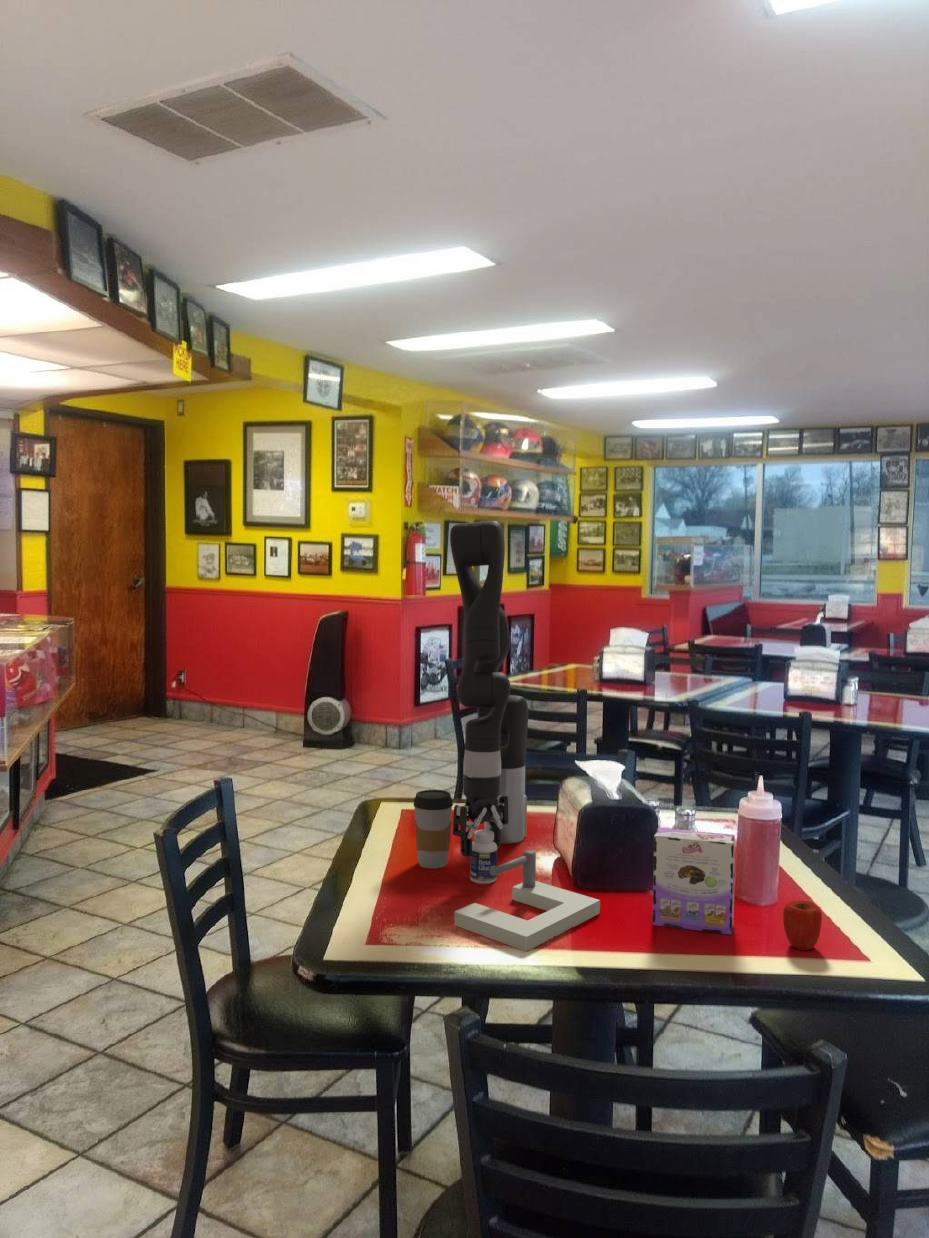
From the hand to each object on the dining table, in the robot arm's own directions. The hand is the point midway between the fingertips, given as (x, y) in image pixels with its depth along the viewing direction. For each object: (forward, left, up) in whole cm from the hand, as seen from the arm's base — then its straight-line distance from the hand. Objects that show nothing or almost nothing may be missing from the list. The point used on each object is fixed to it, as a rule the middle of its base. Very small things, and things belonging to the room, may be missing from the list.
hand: (480, 851), depth 187 cm
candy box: (-9, +42, -6) cm, 44 cm away
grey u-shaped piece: (+9, +19, -6) cm, 22 cm away
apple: (-13, +60, -6) cm, 62 cm away
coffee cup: (-1, -14, -6) cm, 15 cm away
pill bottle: (-1, 0, -6) cm, 6 cm away
